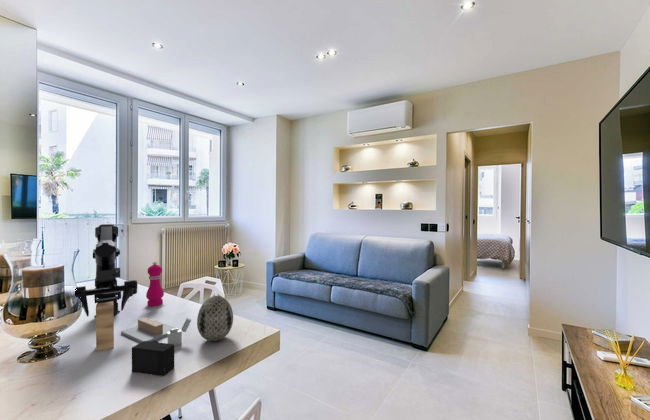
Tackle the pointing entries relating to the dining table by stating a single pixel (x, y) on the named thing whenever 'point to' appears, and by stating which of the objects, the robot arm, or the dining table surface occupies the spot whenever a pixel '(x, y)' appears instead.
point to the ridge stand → (147, 330)
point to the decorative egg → (215, 318)
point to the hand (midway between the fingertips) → (105, 312)
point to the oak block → (104, 326)
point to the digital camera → (153, 358)
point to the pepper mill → (155, 286)
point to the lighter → (177, 333)
